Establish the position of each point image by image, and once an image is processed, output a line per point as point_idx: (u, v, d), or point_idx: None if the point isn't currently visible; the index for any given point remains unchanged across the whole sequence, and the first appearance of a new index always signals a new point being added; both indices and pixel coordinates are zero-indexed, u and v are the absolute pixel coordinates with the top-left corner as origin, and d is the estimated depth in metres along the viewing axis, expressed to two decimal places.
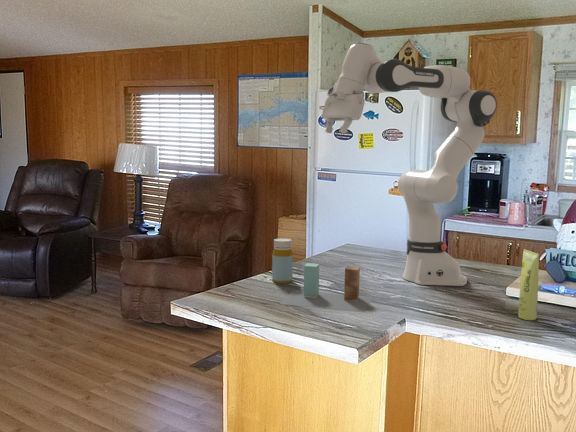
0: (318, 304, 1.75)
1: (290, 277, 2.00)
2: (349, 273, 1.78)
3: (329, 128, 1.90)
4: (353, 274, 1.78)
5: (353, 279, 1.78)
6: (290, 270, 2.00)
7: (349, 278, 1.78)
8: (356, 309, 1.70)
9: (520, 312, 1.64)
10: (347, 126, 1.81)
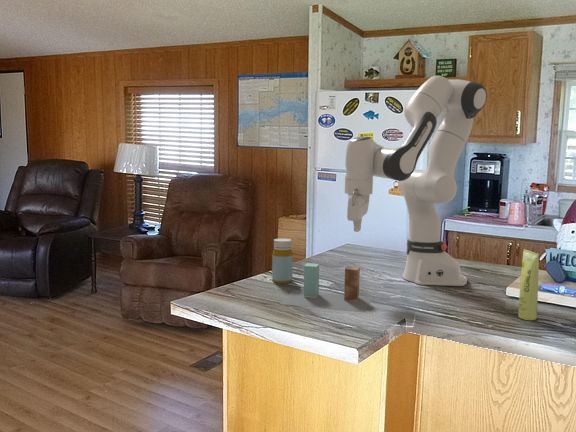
0: (318, 304, 1.75)
1: (290, 277, 2.00)
2: (349, 273, 1.78)
3: None
4: (353, 274, 1.78)
5: (353, 279, 1.78)
6: (290, 270, 2.00)
7: (349, 278, 1.78)
8: (356, 309, 1.70)
9: (520, 312, 1.64)
10: (357, 225, 1.83)
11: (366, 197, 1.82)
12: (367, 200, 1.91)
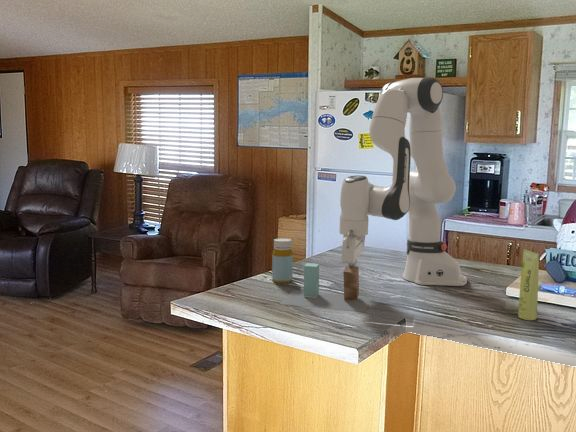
0: (318, 304, 1.75)
1: (290, 277, 2.00)
2: (348, 276, 1.76)
3: None
4: (352, 277, 1.76)
5: (352, 281, 1.76)
6: (290, 270, 2.00)
7: (348, 280, 1.76)
8: (356, 309, 1.70)
9: (520, 312, 1.64)
10: None
11: (361, 238, 1.78)
12: (363, 239, 1.87)
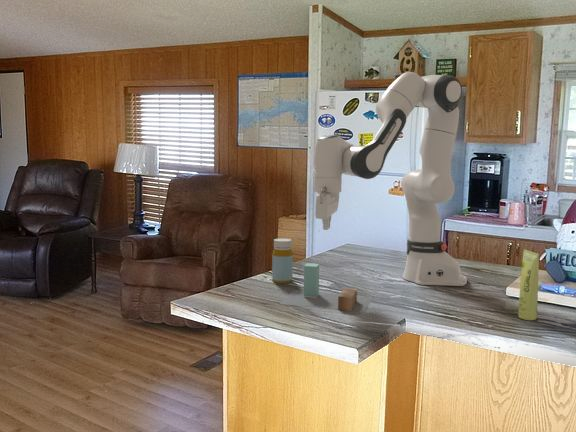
0: (318, 304, 1.75)
1: (290, 277, 2.00)
2: None
3: None
4: None
5: None
6: (290, 270, 2.00)
7: None
8: (356, 309, 1.70)
9: (520, 312, 1.64)
10: (326, 223, 1.83)
11: (335, 195, 1.82)
12: (337, 198, 1.91)
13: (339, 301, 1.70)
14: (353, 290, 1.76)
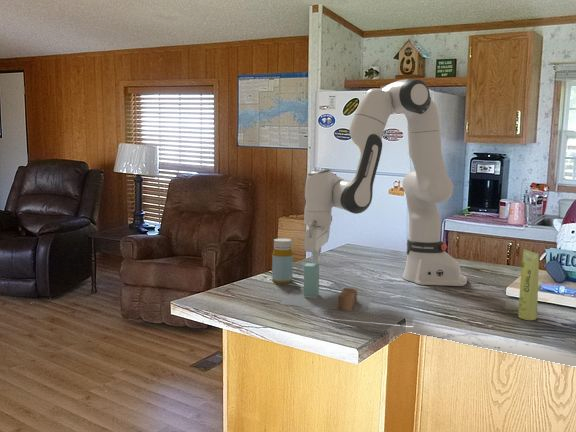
0: (318, 304, 1.75)
1: (290, 277, 2.00)
2: None
3: None
4: None
5: None
6: (290, 270, 2.00)
7: None
8: (356, 309, 1.70)
9: (520, 312, 1.64)
10: (316, 255, 1.88)
11: (324, 228, 1.87)
12: (327, 230, 1.96)
13: (339, 301, 1.70)
14: (353, 290, 1.76)
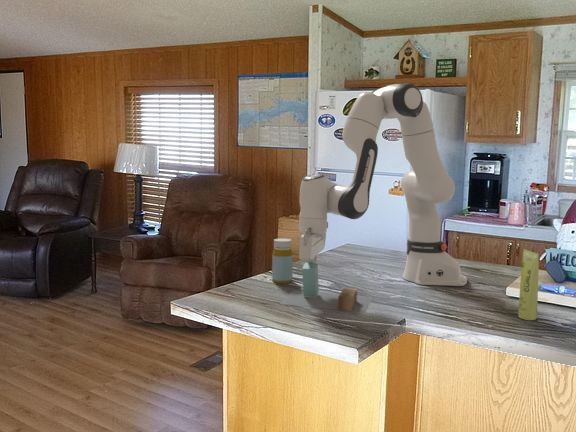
0: (318, 304, 1.75)
1: (290, 277, 2.00)
2: None
3: None
4: None
5: None
6: (290, 270, 2.00)
7: None
8: (356, 309, 1.70)
9: (520, 312, 1.64)
10: None
11: (320, 235, 1.81)
12: (323, 236, 1.90)
13: (339, 301, 1.70)
14: (353, 290, 1.76)
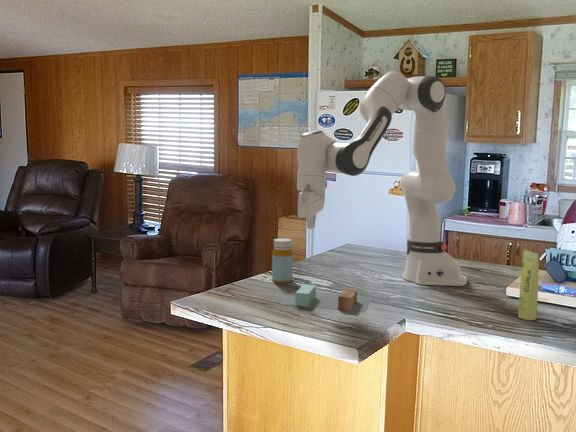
0: (318, 304, 1.75)
1: (290, 277, 2.00)
2: None
3: None
4: None
5: None
6: (290, 270, 2.00)
7: None
8: (356, 309, 1.70)
9: (520, 312, 1.64)
10: (311, 222, 1.77)
11: (319, 193, 1.76)
12: (322, 196, 1.85)
13: (339, 301, 1.70)
14: (353, 290, 1.76)
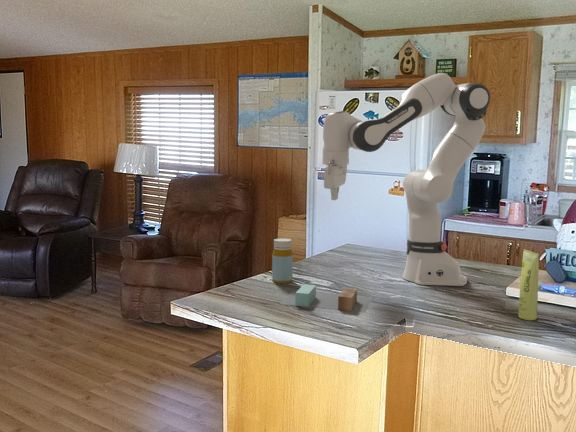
0: (318, 304, 1.75)
1: (290, 277, 2.00)
2: None
3: None
4: None
5: None
6: (290, 270, 2.00)
7: None
8: (356, 309, 1.70)
9: (520, 312, 1.64)
10: (334, 193, 1.96)
11: (342, 167, 1.95)
12: (344, 171, 2.04)
13: (339, 301, 1.70)
14: (353, 290, 1.76)
